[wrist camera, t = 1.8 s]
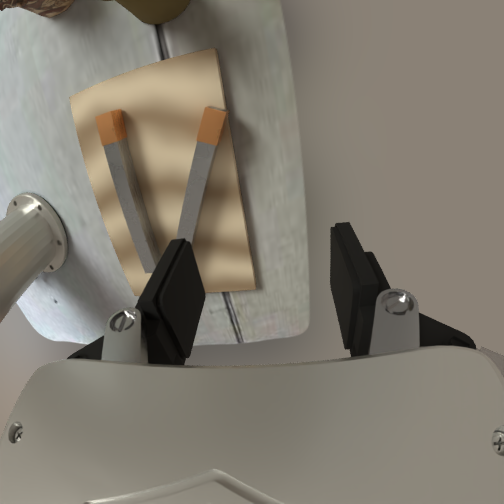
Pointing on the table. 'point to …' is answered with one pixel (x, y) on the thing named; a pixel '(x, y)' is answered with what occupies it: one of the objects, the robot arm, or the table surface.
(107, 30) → the table surface
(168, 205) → the board
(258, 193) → the table surface
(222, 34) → the table surface
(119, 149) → the arm
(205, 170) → the tongs arm
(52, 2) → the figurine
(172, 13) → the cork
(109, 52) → the table surface
